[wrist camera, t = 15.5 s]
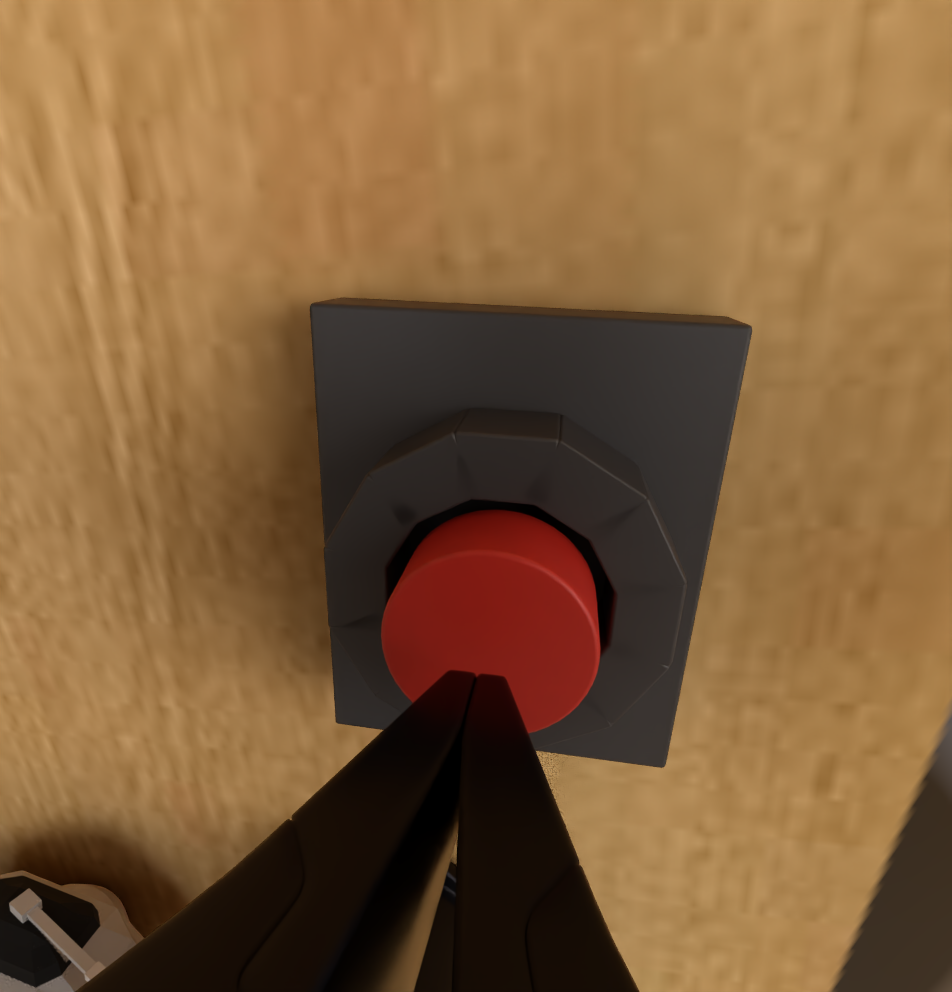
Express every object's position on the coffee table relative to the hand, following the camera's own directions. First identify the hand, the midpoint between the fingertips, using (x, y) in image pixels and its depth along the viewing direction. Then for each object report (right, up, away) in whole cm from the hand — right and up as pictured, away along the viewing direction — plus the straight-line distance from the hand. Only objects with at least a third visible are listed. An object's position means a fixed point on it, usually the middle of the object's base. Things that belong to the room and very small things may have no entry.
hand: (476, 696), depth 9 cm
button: (0, +1, +3) cm, 3 cm away
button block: (+1, +2, +5) cm, 6 cm away
